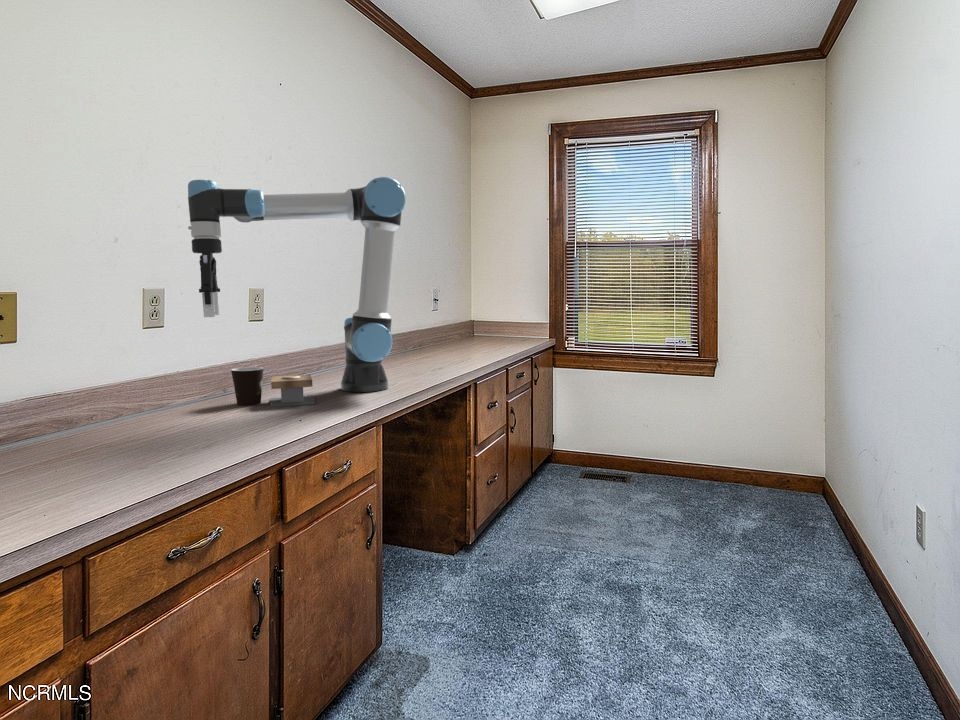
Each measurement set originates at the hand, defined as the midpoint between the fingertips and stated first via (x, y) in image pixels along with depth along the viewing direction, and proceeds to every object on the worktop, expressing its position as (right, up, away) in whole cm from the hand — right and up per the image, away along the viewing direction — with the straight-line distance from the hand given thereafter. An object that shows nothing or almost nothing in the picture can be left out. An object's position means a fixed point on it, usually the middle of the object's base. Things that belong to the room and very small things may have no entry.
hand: (211, 316), depth 179 cm
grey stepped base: (+21, -24, +6) cm, 33 cm away
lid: (+21, -19, +6) cm, 29 cm away
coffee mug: (+9, -25, +6) cm, 27 cm away
